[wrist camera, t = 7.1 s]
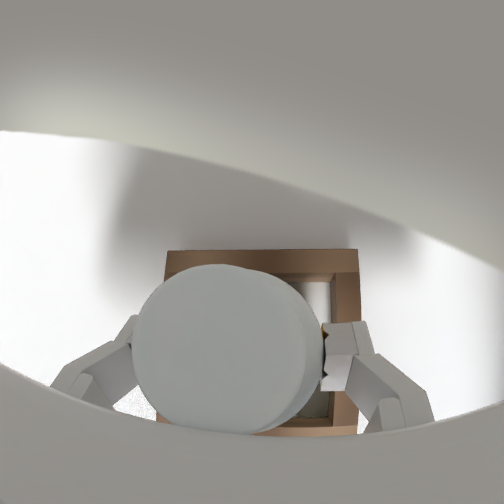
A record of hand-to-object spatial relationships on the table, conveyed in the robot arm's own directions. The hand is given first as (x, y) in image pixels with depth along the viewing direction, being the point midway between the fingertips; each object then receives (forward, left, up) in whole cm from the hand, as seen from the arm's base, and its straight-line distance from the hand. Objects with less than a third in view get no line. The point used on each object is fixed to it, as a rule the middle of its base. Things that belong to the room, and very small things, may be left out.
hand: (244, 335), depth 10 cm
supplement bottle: (+1, 0, -6) cm, 6 cm away
